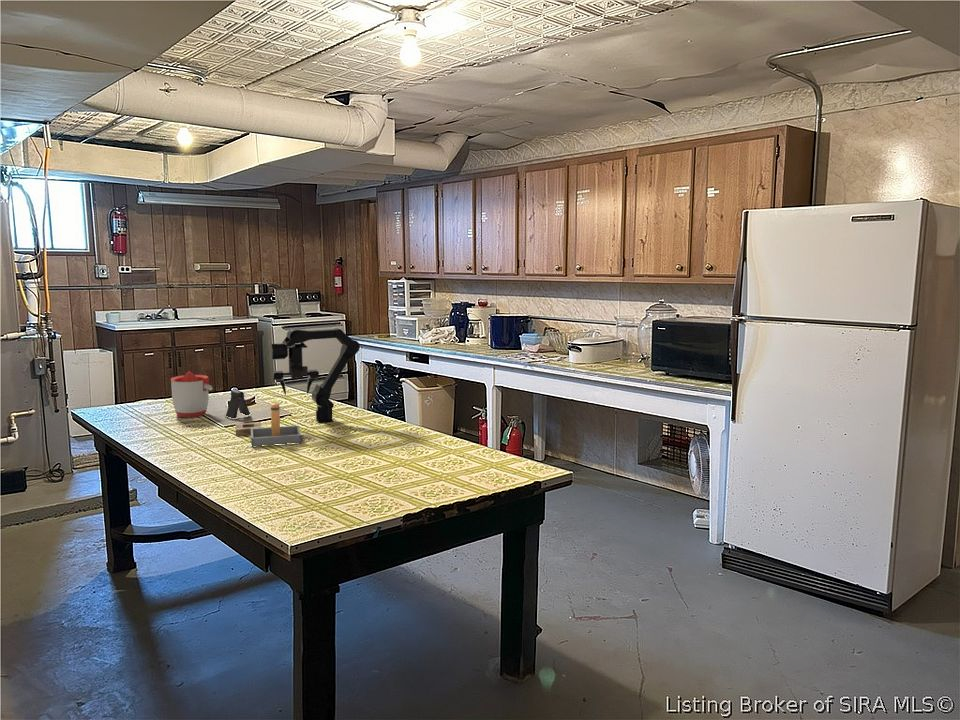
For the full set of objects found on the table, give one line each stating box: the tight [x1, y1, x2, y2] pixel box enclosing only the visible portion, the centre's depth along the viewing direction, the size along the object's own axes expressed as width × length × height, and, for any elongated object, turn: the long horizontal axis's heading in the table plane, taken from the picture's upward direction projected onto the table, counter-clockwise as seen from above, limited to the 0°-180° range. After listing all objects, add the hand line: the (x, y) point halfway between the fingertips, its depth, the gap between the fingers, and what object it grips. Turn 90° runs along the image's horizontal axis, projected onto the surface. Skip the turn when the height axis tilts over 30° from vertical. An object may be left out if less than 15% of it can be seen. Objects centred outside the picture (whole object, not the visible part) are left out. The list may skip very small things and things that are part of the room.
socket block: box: [235, 421, 263, 437], centre depth 284 cm, size 10×10×2 cm
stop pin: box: [270, 403, 281, 437], centre depth 271 cm, size 3×3×14 cm
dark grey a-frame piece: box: [225, 389, 251, 418], centre depth 306 cm, size 9×6×12 cm, turn 138°
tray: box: [250, 425, 303, 448], centre depth 272 cm, size 19×15×4 cm
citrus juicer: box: [170, 371, 214, 418], centre depth 308 cm, size 16×17×20 cm
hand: (296, 394), depth 296 cm, fingers open, 9 cm apart
